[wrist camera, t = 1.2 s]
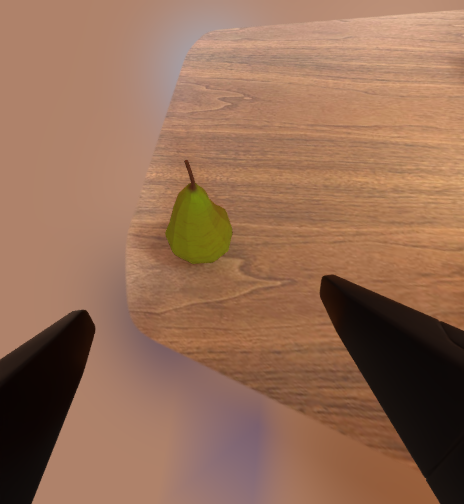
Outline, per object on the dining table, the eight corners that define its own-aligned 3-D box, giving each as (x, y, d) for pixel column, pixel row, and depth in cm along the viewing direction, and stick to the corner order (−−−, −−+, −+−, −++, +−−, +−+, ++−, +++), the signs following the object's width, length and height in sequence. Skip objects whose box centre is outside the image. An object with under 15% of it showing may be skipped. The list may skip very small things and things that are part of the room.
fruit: (187, 281, 23) (149, 234, 12) (167, 233, 25) (117, 151, 13) (242, 256, 24) (254, 191, 13) (218, 212, 26) (211, 120, 14)
